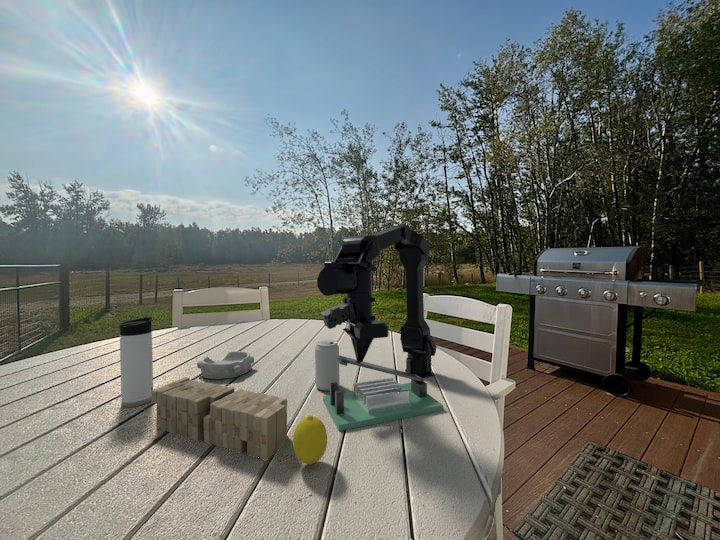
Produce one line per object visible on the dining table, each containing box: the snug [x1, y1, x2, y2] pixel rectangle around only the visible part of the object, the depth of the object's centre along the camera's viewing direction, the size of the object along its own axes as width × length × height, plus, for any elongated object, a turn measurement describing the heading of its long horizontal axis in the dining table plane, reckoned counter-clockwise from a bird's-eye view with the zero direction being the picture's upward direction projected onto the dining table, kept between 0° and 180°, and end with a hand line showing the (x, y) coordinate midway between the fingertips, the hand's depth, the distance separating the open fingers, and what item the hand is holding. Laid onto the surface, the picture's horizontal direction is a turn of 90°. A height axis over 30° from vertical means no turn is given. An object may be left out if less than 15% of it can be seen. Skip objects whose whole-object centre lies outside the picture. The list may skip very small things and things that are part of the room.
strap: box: [337, 354, 425, 383], centre depth 70 cm, size 22×3×1 cm, turn 109°
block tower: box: [151, 376, 288, 461], centre depth 60 cm, size 8×8×29 cm
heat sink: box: [329, 376, 428, 414], centre depth 70 cm, size 22×10×5 cm, turn 110°
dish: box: [196, 350, 255, 380], centre depth 94 cm, size 14×14×5 cm
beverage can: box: [314, 339, 341, 392], centre depth 81 cm, size 6×6×12 cm
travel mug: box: [119, 316, 154, 408], centre depth 74 cm, size 6×7×20 cm
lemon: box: [292, 414, 328, 466], centre depth 50 cm, size 6×6×8 cm
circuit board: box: [322, 382, 444, 432], centre depth 70 cm, size 24×14×1 cm, turn 110°
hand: (359, 361), depth 69 cm, fingers closed, pressing on strap
